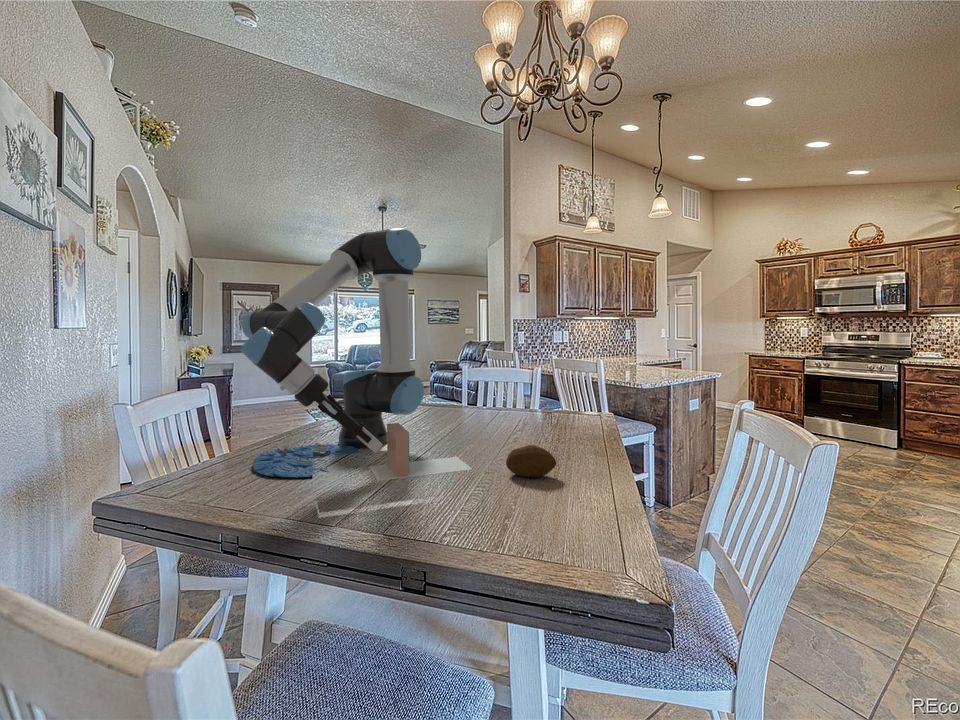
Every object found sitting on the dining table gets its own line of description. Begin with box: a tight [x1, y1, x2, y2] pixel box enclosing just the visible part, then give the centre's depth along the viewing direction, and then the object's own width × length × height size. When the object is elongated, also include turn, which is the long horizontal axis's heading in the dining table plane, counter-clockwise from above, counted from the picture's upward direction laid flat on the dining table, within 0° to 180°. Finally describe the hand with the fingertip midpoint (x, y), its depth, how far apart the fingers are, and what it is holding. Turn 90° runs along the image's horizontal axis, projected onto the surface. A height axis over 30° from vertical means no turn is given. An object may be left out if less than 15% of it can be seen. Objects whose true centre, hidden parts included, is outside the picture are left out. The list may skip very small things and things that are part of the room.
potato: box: [505, 444, 557, 478], centre depth 117 cm, size 8×12×8 cm, turn 88°
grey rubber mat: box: [369, 456, 473, 482], centre depth 121 cm, size 12×24×1 cm, turn 113°
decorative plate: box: [252, 442, 363, 479], centre depth 129 cm, size 30×30×5 cm
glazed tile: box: [386, 422, 410, 477], centre depth 118 cm, size 10×3×11 cm, turn 23°
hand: (378, 448), depth 116 cm, fingers closed
